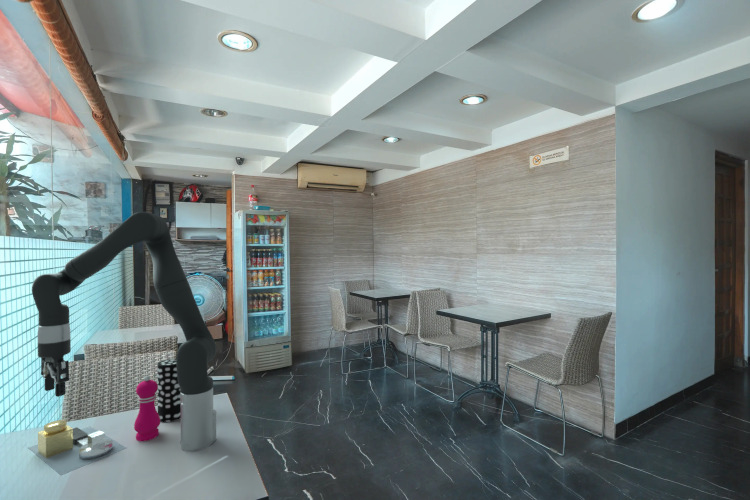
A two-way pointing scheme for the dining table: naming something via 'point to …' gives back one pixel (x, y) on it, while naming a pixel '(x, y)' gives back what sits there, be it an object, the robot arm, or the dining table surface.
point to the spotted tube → (168, 391)
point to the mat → (73, 456)
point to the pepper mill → (147, 411)
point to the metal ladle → (91, 444)
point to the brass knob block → (55, 438)
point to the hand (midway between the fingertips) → (54, 392)
